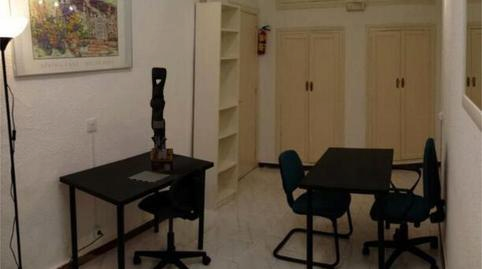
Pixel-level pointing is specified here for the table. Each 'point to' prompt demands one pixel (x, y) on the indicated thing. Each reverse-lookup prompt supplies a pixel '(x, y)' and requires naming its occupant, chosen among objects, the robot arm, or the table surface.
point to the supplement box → (162, 160)
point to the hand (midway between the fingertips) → (159, 150)
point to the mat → (149, 176)
